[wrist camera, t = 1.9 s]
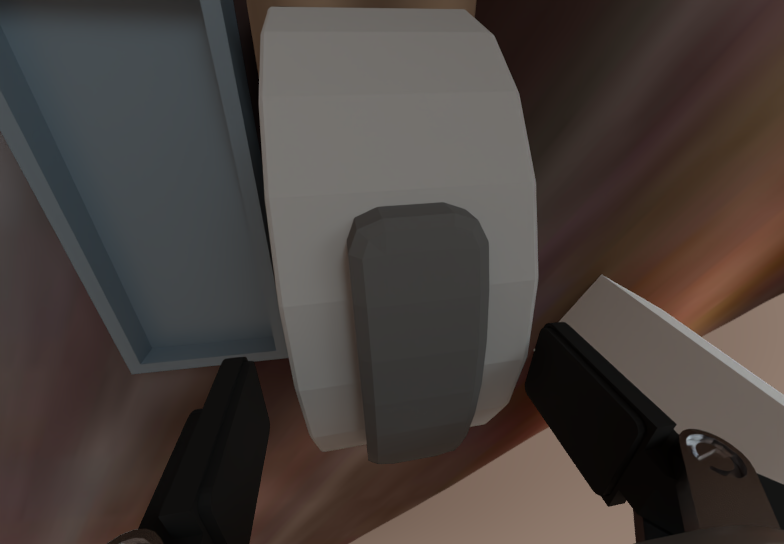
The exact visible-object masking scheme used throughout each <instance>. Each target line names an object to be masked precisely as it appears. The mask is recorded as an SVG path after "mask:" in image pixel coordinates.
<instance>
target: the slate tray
mask: <svg viewBox="0 0 784 544" xmlns="http://www.w3.org/2000/svg"><path fill="white" fill-rule="evenodd" d="M0 131H1V133H2V135H3V137H4V138H5V140H6V142H7V144H8V146H9V148H10V150H11V151H12V153H13V155H14V157H15V159H16V161H17V163H18V164H19V166H20V168H21V170H22V172H23V174H24V175H25V177H26V179H27V181H28V183H29V185H30V187H31V188H32V190H33V192H34V194H35V196H36V198H37V200H38V201H39V203H40V205H41V207H42V209H43V211H44V213H45V214H46V216H47V218H48V220H49V222H50V224H51V226H52V227H53V229H54V231H55V233H56V235H57V237H58V239H59V240H60V242H61V244H62V246H63V248H64V250H65V252H66V253H67V255H68V257H69V259H70V261H71V263H72V265H73V266H74V268H75V270H76V272H77V274H78V276H79V277H80V279H81V281H82V283H83V285H84V287H85V289H86V290H87V292H88V294H89V296H90V298H91V300H92V302H93V303H94V305H95V307H96V309H97V311H98V313H99V315H100V316H101V318H102V320H103V322H104V324H105V326H106V328H107V329H108V331H109V333H110V335H111V337H112V339H113V341H114V342H115V344H116V346H117V348H118V350H119V352H120V354H121V355H122V357H123V359H124V361H125V363H126V365H127V366H128V368H129V370H130V372H131V374H140V373H150V372H159V371H169V370H178V369H188V368H197V367H207V366H217V365H221V363H222V361H223V360H224V359H227V358H236V357H246V358H247V360H248V361H254V362H255V361H264V360H274V359H283V358H289V357H288V352H287V347H286V342H285V337H284V332H283V327H282V322H281V317H280V312H279V307H278V300H277V292H276V284H275V276H274V269H273V261H272V253H271V245H270V238H269V230H268V222H267V214H266V207H265V196H264V181H263V165H262V160H261V154H260V149H259V143H258V138H257V132H256V126H255V121H254V115H253V110H252V104H251V98H250V93H249V87H248V82H247V76H246V71H245V65H244V59H243V54H242V48H241V43H240V37H239V31H238V26H237V20H236V15H235V9H234V3H233V0H0Z"/></svg>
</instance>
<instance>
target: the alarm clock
mask: <svg viewBox="0 0 784 544" xmlns="http://www.w3.org/2000/svg"><path fill="white" fill-rule="evenodd" d="M259 118H260V134H261V149H262V165H263V181H264V196H265V207H266V214H267V222H268V230H269V238H270V245H271V253H272V261H273V269H274V276H275V284H276V292H277V300H278V307H279V312H280V317H281V322H282V327H283V332H284V337H285V342H286V347H287V352H288V357H289V362H290V367H291V372H292V377H293V382H294V387H295V390H296V394H297V397H298V400H299V403H300V406H301V409H302V413H303V416H304V419H305V422H306V425H307V428H308V432H309V435H310V437H311V438H312V440H313V441H314V442H315V444H316V445H317V446H318V448H319V449H320V450H321V451H323V452H326V451H332V450H337V449H343V448H349V447H355V446H361V445H367V451H368V461H371V462H374V463H376V464H394V463H399V462H405V461H410V460H416V459H422V458H427V457H433V456H437V455H440V454H443V453H446V452H450V451H454V450H455V449H456V448H457V447H458V446H459V445H460V444H461V443H462V441H463V440H464V438H465V437H466V435H467V433H468V431H469V428H470V427H472V426H478V425H484V424H486V423H487V422H488V421H489V420H490V419H492V418H493V417H494V416H495V415H496V414H497V413H498V412H499V411H501V410H502V409H503V408H504V407H505V406H506V405H507V404H508V403H509V401H510V398H511V396H512V393H513V391H514V388H515V386H516V383H517V381H518V378H519V376H520V373H521V371H522V368H523V366H524V363H525V361H526V358H527V355H528V348H529V341H530V334H531V327H532V320H533V313H534V306H535V299H536V292H537V285H538V244H537V204H536V180H535V175H534V169H533V164H532V159H531V153H530V148H529V143H528V138H527V132H526V127H525V122H524V116H523V111H522V106H521V100H520V95H519V92H518V90H517V87H516V85H515V83H514V80H513V78H512V76H511V74H510V71H509V69H508V67H507V64H506V62H505V60H504V57H503V55H502V53H501V50H500V48H499V46H498V43H497V41H496V39H495V36H494V35H493V34H492V33H491V32H490V31H488V30H487V29H486V28H485V27H484V26H483V25H482V24H481V23H480V22H478V21H477V20H476V19H475V18H474V17H473V16H472V15H471V14H469V13H468V12H467V11H466V10H465V9H406V8H331V7H270V8H269V9H268V11H267V15H266V18H265V21H264V25H263V28H262V31H261V39H260V72H259Z"/></svg>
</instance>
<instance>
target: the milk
mask: <svg viewBox="0 0 784 544" xmlns="http://www.w3.org/2000/svg"><path fill="white" fill-rule="evenodd" d="M559 322H566V323H567V324H568V325H569V326H571V327H572V328H573V329H574V330H575V331H576V332H577V333H578V334H579V335H580V336H581V337H583V338H584V339H585V340H586V341H587V342H588V343H589V344H590V345H591V346H592V347H593V348H594V349H596V350H597V351H598V352H599V353H600V354H601V355H602V356H603V357H604V358H605V359H606V360H608V361H609V362H610V363H611V364H612V365H613V366H614V367H615V368H616V369H617V370H618V371H619V372H621V373H622V374H623V375H624V376H625V377H626V378H627V379H628V380H629V381H630V382H631V383H633V384H634V385H635V386H636V387H637V388H638V389H639V390H640V391H641V392H642V393H643V394H644V395H646V396H647V397H648V398H649V399H650V400H651V401H652V402H653V403H654V404H655V405H656V406H658V407H659V408H660V409H661V410H662V411H663V412H664V413H665V414H666V415H667V416H668V417H669V418H671V419H672V420H673V421H674V422H675V423H676V424H677V425H676V426H675V428H674V430H675V431H676V432H677V433H678V434H680V433H681V432H682V431H683V430H686V429H699V430H702V431H706V432H709V433H711V434H714V435H716V436H718V437H720V438H722V439H723V440H725V441H727V442H728V443H730V444H732V445H733V446H734V447H735V448H737V449H738V450H739V451H740V452H742V453H743V455H744V456H745V457H746V458H747V459H748V460H749V461H750V462H751V464H752V466H753V467H754V469H755V471H756V473H758V474H760V475H763V476H765V477H767V478H770V479H772V480H774V481H777V482H779V483H781V484H784V395H783V394H782V393H780V392H779V391H777V390H776V389H775V388H773V387H772V386H770V385H769V384H768V383H766V382H764V381H763V380H762V379H760V378H759V377H758V376H756V375H755V374H753V373H752V372H750V371H749V370H748V369H746V368H745V367H743V366H742V365H740V364H739V363H738V362H736V361H735V360H733V359H732V358H730V357H729V356H728V355H726V354H725V353H723V352H722V351H720V350H719V349H718V348H716V347H715V346H713V345H712V344H710V343H709V342H708V341H706V340H705V339H703V338H702V337H701V336H699V335H698V334H696V333H695V332H693V331H692V330H691V329H689V328H688V327H686V326H685V325H683V324H682V323H681V322H679V321H678V320H676V319H675V318H673V317H672V316H671V315H669V314H668V313H666V312H665V311H663V310H662V309H660V308H659V307H657V306H655V305H653V304H652V303H650V302H648V301H646V300H645V299H643V298H641V297H639V296H638V295H636V294H634V293H633V292H631V291H629V290H627V289H626V288H624V287H622V286H620V285H619V284H617V283H615V282H613V281H612V280H610V279H608V278H607V277H605V276H603V275H601V276H600V277H599V278H598V279H597V280H596V281H595V282H594V283H593V284H592V286H591V287H590V288H589V289H588V290H587V291H586V292H585V293H584V294H583V296H582V297H581V298H580V299H579V300H578V301H577V302H576V303H575V304H574V306H573V307H572V308H571V309H570V310H569V311H568V312H567V313H566V314H565V316H564V317H563V318H562V319H561V320H560V321H559ZM534 351H535V349H534Z"/></svg>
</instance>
